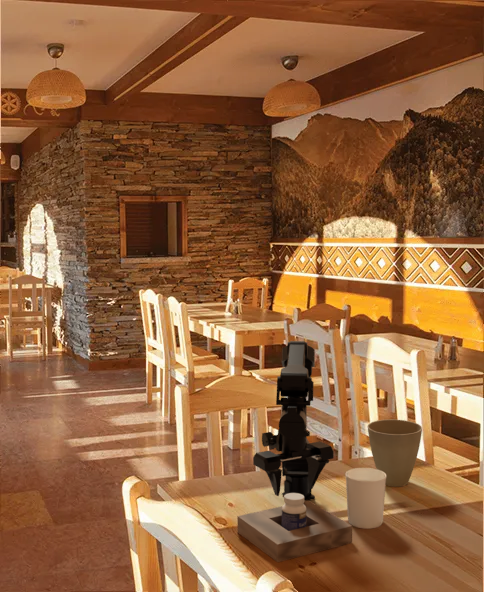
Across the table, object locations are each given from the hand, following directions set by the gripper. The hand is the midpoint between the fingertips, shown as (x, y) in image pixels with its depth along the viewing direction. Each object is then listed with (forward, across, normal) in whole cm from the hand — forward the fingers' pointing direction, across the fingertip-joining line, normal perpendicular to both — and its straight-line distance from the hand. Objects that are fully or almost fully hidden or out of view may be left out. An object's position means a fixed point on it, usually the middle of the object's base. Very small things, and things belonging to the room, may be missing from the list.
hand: (293, 491), depth 181 cm
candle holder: (+11, -20, +1) cm, 23 cm away
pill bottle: (+11, 0, 0) cm, 11 cm away
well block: (+11, 0, 0) cm, 11 cm away
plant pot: (+11, -44, -17) cm, 49 cm away
